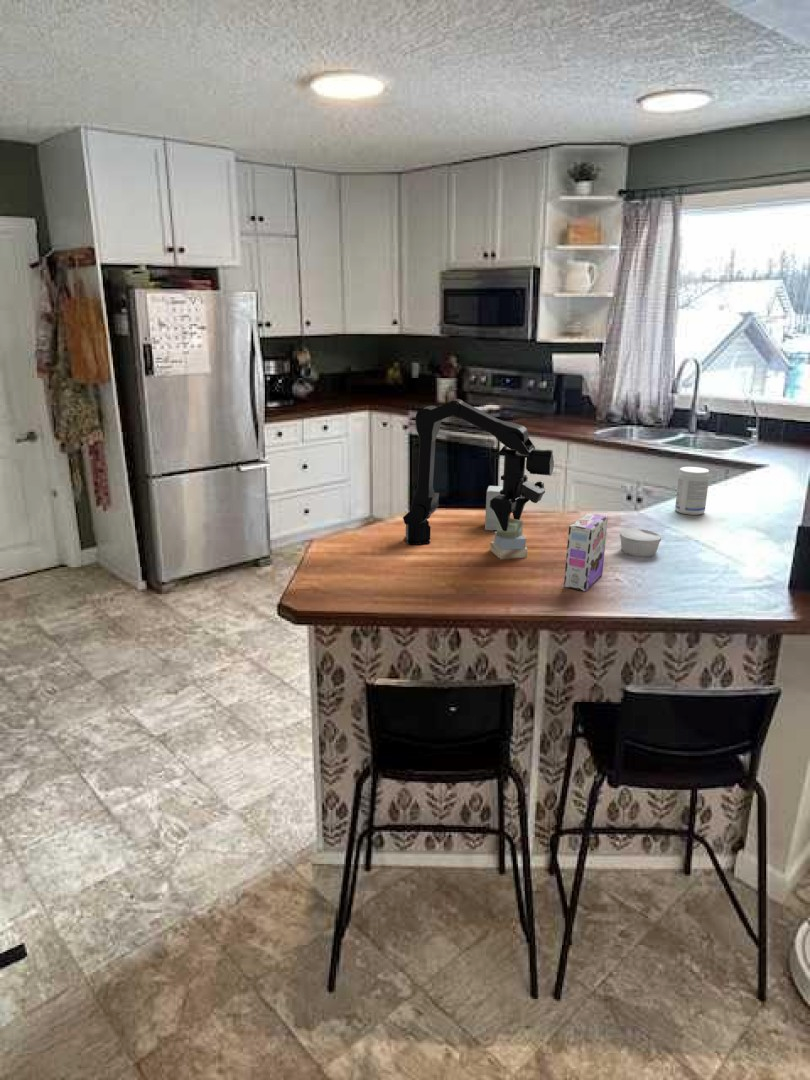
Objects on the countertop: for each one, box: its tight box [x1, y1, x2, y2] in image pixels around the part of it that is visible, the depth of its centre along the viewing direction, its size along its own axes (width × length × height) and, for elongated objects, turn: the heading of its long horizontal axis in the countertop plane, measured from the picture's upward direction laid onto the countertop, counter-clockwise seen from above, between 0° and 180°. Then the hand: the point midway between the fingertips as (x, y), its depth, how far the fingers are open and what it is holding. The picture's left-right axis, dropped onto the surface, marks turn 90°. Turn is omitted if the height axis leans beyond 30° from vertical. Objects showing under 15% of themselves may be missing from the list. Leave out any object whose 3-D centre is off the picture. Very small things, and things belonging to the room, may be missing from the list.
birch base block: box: [489, 541, 529, 560], centre depth 209 cm, size 8×8×3 cm
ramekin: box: [619, 528, 662, 558], centre depth 211 cm, size 11×11×5 cm
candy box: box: [563, 512, 609, 592], centre depth 187 cm, size 14×6×16 cm, turn 148°
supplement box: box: [484, 485, 504, 531], centre depth 230 cm, size 7×7×13 cm
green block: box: [496, 517, 524, 539], centre depth 207 cm, size 6×6×4 cm
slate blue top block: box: [493, 531, 527, 550], centre depth 208 cm, size 7×7×3 cm
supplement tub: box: [674, 466, 710, 516], centre depth 248 cm, size 10×10×15 cm
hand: (510, 526), depth 206 cm, fingers open, 9 cm apart
